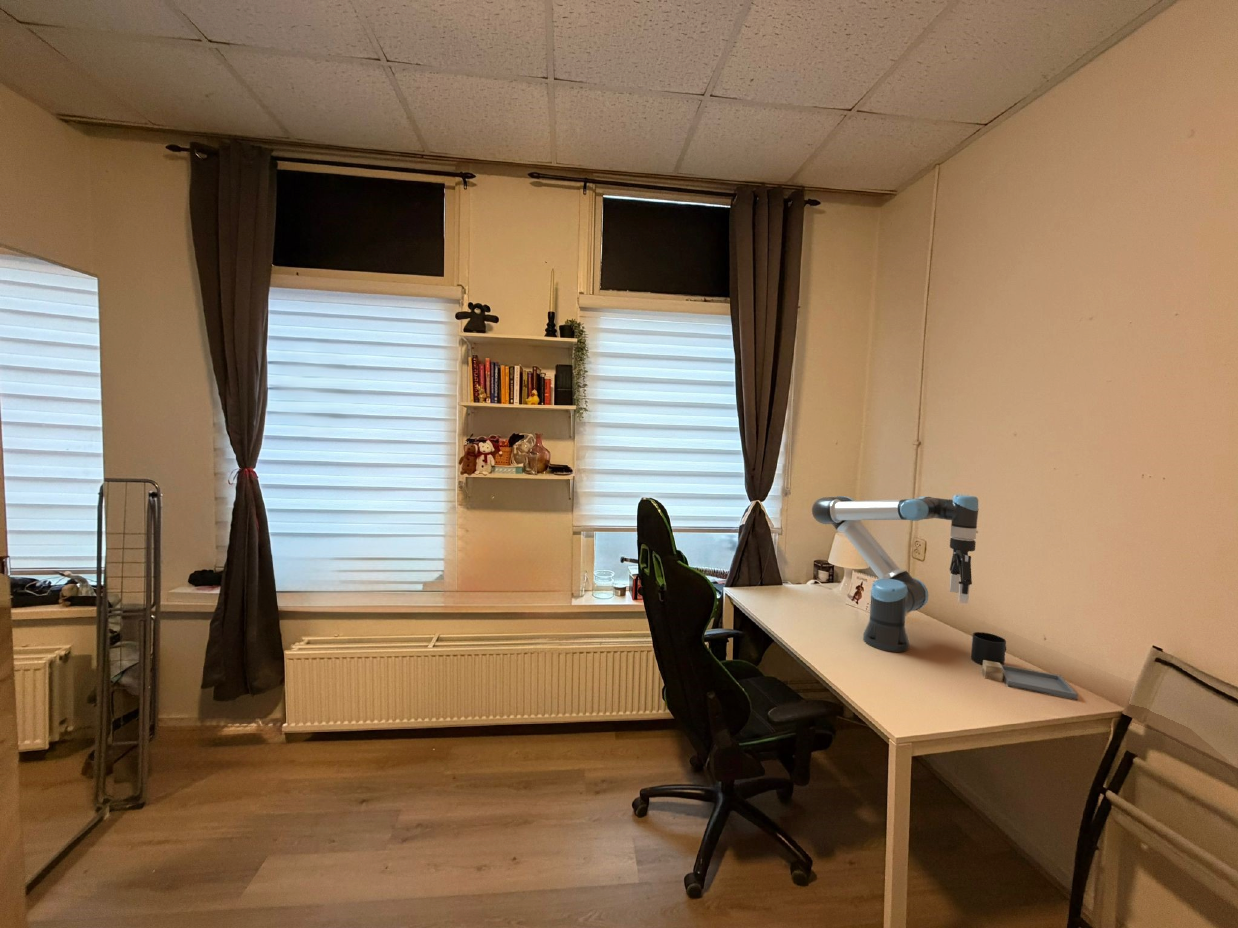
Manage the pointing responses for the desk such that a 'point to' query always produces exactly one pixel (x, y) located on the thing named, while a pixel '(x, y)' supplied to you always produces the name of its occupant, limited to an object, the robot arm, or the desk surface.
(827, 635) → the desk surface
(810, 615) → the desk surface
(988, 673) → the oak block
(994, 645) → the mug
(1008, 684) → the tray
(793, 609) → the desk surface
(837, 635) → the desk surface
